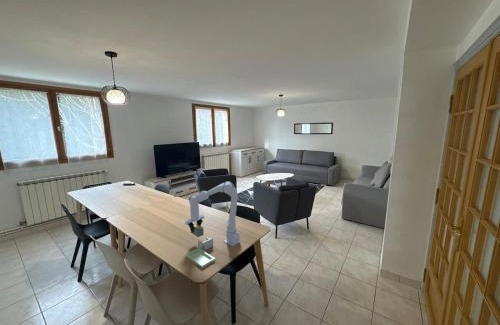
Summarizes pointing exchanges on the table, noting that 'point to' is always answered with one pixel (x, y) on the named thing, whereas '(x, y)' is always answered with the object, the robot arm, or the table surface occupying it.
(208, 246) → the bay
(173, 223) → the table surface
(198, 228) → the grey block yellow label
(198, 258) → the tray
